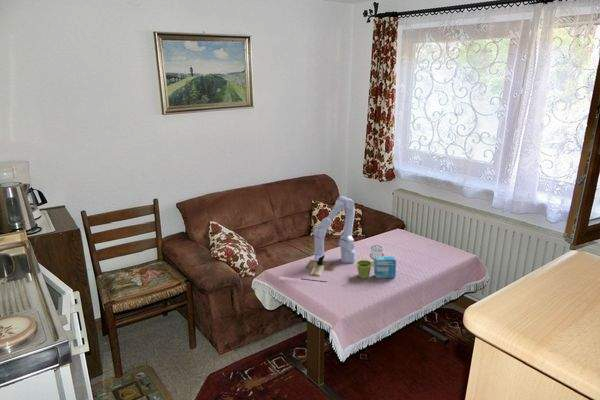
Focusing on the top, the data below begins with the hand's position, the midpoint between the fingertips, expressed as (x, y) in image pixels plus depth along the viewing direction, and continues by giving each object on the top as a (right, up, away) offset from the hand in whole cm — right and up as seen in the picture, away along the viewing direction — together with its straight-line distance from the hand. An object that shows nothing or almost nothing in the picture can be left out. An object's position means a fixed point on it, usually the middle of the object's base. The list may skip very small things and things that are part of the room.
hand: (319, 266), depth 259 cm
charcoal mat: (-3, -5, -8) cm, 9 cm away
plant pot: (+26, -4, -10) cm, 28 cm away
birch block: (-2, -3, -5) cm, 6 cm away
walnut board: (+1, -1, +4) cm, 4 cm away
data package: (+38, -4, -11) cm, 40 cm away
